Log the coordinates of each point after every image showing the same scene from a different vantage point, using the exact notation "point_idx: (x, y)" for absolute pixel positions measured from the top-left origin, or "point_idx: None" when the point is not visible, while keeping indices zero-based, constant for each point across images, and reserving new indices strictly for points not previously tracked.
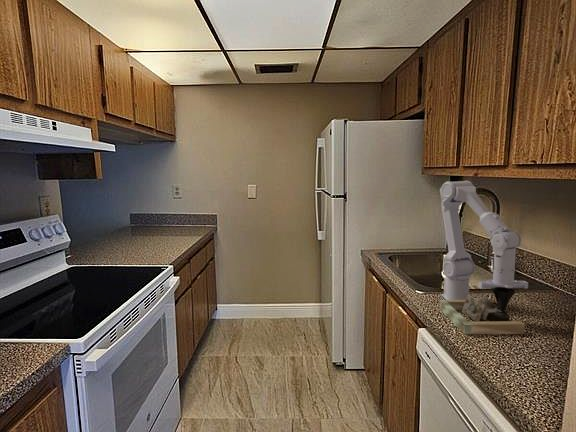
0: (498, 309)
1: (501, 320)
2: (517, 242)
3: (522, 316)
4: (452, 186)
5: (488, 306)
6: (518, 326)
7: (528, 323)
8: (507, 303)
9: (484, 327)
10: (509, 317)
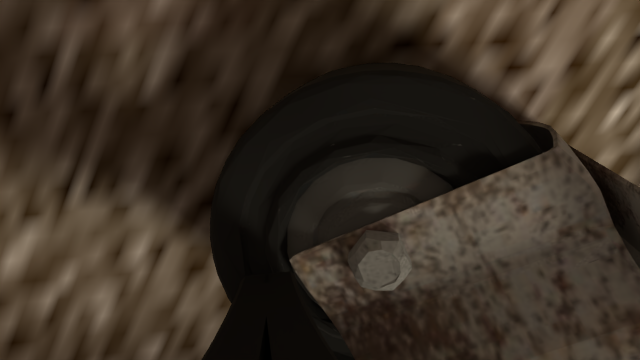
0: None
1: (379, 66)
2: None
3: (17, 318)
4: None
5: (471, 312)
6: None
7: (3, 161)
8: (214, 348)
9: None
10: (237, 147)
